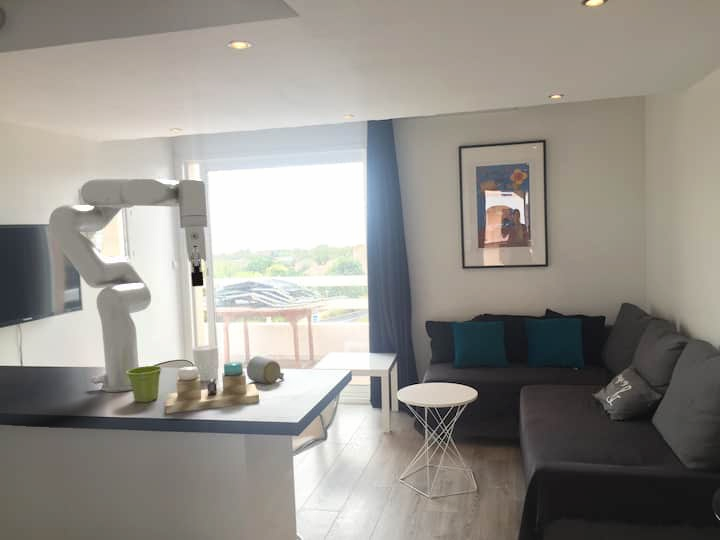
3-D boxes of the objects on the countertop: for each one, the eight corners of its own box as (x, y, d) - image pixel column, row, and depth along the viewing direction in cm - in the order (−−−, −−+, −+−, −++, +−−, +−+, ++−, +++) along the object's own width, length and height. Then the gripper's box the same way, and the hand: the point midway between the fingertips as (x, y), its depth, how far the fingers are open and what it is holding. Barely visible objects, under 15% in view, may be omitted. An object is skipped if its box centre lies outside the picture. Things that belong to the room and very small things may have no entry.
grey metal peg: (208, 396, 158) (207, 381, 157) (207, 393, 160) (206, 379, 160) (217, 394, 158) (216, 380, 158) (216, 392, 161) (215, 378, 160)
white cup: (216, 381, 181) (214, 349, 180) (191, 382, 181) (189, 350, 180) (222, 375, 189) (220, 344, 188) (198, 376, 189) (196, 345, 188)
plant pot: (128, 398, 166) (125, 368, 166) (162, 393, 170) (160, 364, 169) (129, 406, 158) (126, 375, 157) (165, 401, 162) (163, 370, 161)
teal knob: (225, 394, 158) (224, 367, 157) (224, 389, 162) (223, 363, 162) (244, 391, 159) (242, 365, 158) (243, 387, 164) (241, 361, 163)
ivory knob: (179, 399, 154) (177, 371, 154) (180, 394, 159) (178, 367, 159) (199, 397, 156) (197, 369, 155) (199, 392, 161) (197, 365, 160)
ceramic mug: (265, 386, 172) (264, 361, 171) (246, 383, 177) (245, 358, 176) (290, 379, 180) (289, 354, 180) (271, 376, 185) (270, 352, 185)
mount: (166, 413, 150) (164, 387, 150) (168, 400, 162) (166, 376, 161) (259, 402, 157) (257, 376, 156) (254, 390, 168) (253, 366, 168)
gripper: (207, 221, 160) (211, 287, 162) (206, 222, 175) (210, 283, 176) (179, 222, 158) (183, 289, 160) (180, 223, 173) (184, 284, 174)
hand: (197, 285), depth 168 cm, fingers closed
